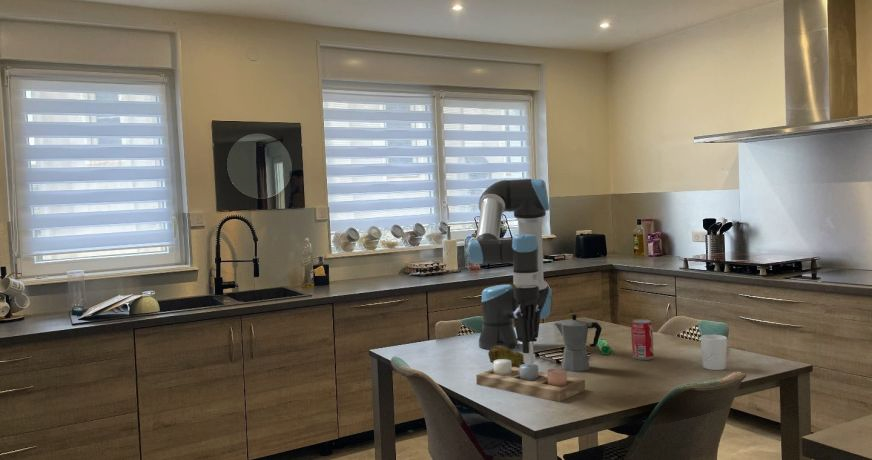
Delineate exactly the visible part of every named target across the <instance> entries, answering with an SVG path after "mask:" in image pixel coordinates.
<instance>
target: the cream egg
mask: <svg viewBox="0 0 872 460" xmlns="http://www.w3.org/2000/svg"><path fill="white" fill-rule="evenodd" d="M493 363H494V364H493ZM493 363H492V364H493V369H494V374H495V375H500V376H507V375H510V374H512V364H511V360H507V359H499V360H495V361H493Z"/></svg>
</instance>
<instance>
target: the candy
mask: <svg viewBox="0 0 872 460" xmlns="http://www.w3.org/2000/svg"><path fill="white" fill-rule="evenodd" d="M597 346H598V349H599V351H600V352H601V354H602V355H610V354H611V353H612V349H611V347H610V346H609V344H608V342H607V340H606V339H605V338H599V339H598V342H597Z"/></svg>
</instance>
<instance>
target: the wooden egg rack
mask: <svg viewBox="0 0 872 460" xmlns="http://www.w3.org/2000/svg"><path fill="white" fill-rule="evenodd" d="M538 377H539V379H538V380H535V381H533V382H531V381H526V380H521V379H520V368H517V367H512V374H510V375H507V376H500V375H495V374H494V368H491V369H488V370H485V371H483V372H479V373H477V374H476V375H475V379H476V381H475V382H476V385H478V386H483V387H488V388H494V389H498V390H502V391H507V392H512V393H516V394H521V395H525V396H526V395H527V396H530V397H535V398H540V399H544V400H550V401H554V402H559V403H560V402H562V401H564V400H566V399H569V398H570V397H572V396H575V395H577V394H579V393H582V392H584V391H586V379H583V378H578V377H577V378H576V377H571V376H567V385H566V386H563V387H556V386H551V385H548V374H547V372H545V371H544V372H543V371H540V370H538Z"/></svg>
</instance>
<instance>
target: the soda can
mask: <svg viewBox="0 0 872 460" xmlns="http://www.w3.org/2000/svg"><path fill="white" fill-rule="evenodd" d="M653 327H654V326H653V324H652V320H650V319H645V318H643V319H641V318H640V319H634V320H632V323H631V327H630V328H631V329H630V330H631V355H632V357H633V358H634V359H635V360H639V361H650V360H652V359H653V357H654V356H655V353H654V331H653V330H654V329H653Z"/></svg>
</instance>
